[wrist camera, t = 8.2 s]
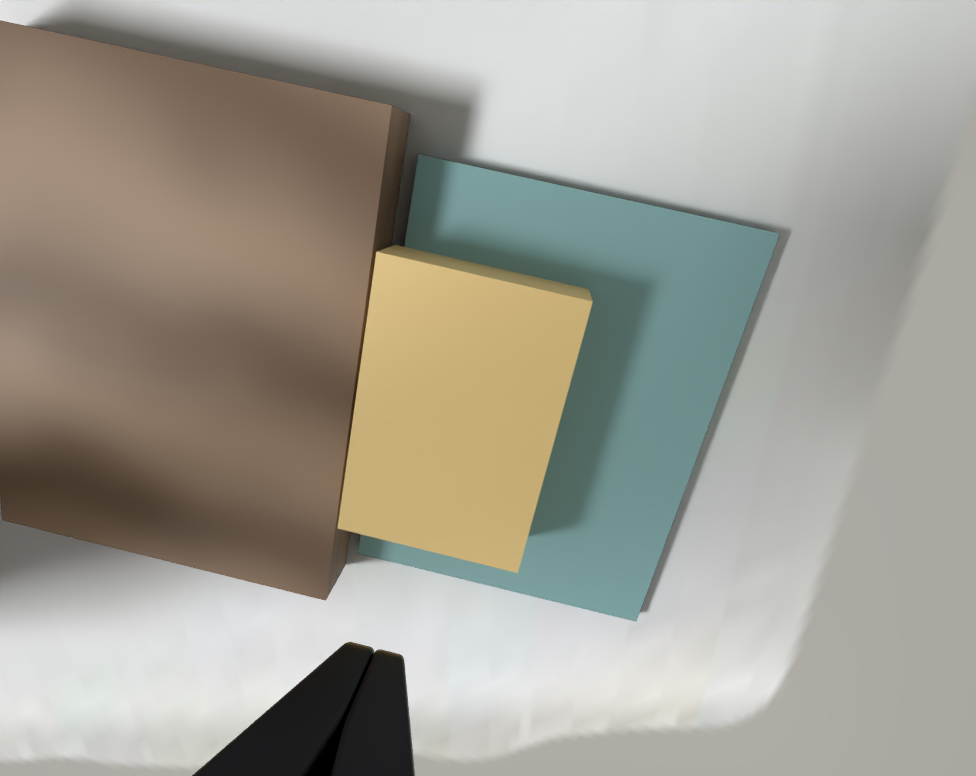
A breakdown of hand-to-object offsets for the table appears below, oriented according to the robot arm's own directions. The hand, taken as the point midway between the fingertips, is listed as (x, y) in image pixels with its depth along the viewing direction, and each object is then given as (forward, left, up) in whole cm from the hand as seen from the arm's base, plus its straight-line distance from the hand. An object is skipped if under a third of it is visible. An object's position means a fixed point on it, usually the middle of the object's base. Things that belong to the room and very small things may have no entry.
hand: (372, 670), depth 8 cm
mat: (0, -2, -12) cm, 12 cm away
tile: (0, 0, -11) cm, 11 cm away
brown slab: (0, +10, -12) cm, 15 cm away
